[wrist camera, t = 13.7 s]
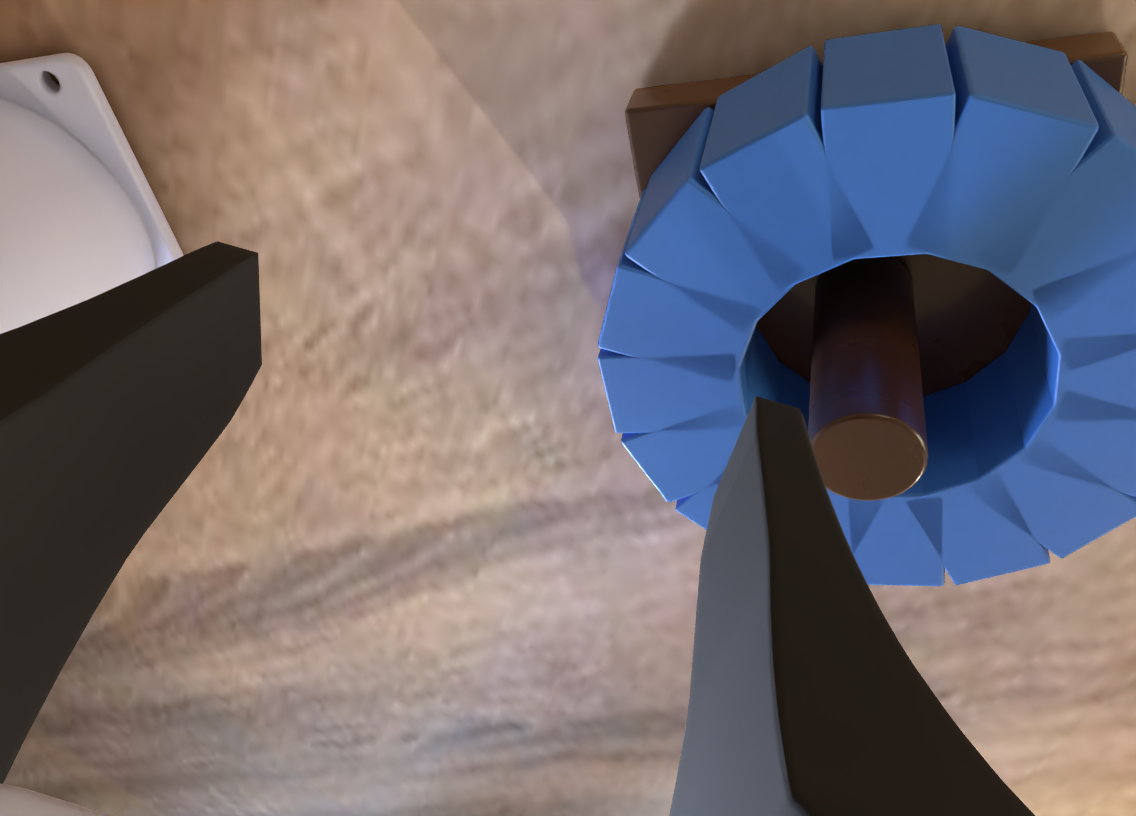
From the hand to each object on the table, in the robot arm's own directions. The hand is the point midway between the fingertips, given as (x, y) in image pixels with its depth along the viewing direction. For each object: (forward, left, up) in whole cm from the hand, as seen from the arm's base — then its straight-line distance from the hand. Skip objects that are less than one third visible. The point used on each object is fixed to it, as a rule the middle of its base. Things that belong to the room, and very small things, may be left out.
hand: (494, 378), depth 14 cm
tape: (+6, -4, -8) cm, 11 cm away
